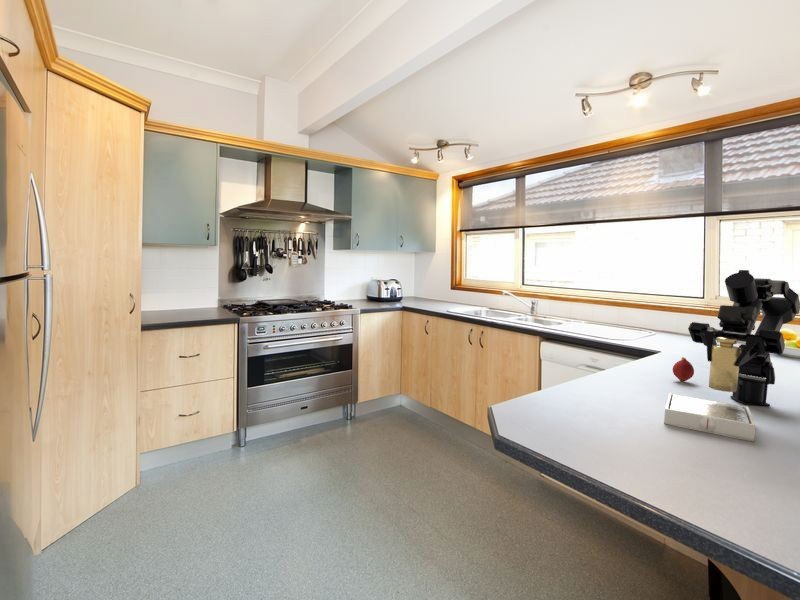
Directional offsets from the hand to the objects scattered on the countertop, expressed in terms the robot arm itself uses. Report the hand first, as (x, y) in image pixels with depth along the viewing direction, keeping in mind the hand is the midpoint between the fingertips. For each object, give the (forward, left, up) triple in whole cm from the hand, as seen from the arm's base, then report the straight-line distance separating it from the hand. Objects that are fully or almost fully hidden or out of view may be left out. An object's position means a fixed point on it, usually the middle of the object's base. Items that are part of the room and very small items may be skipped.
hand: (722, 362), depth 104 cm
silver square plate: (+6, +6, -11) cm, 13 cm away
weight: (-1, -1, -7) cm, 7 cm away
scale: (+6, +6, -13) cm, 16 cm away
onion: (-8, -36, -13) cm, 39 cm away
